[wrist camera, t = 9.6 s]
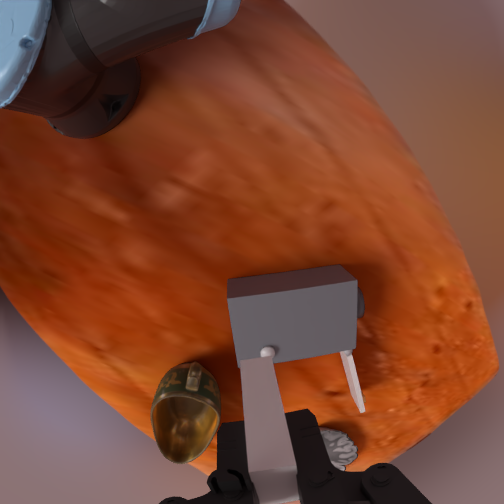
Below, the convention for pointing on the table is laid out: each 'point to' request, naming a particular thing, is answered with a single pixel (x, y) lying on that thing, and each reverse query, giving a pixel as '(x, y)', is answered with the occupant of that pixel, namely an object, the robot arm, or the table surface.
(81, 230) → the table surface
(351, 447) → the brain slice
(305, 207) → the table surface
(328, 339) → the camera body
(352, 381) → the door
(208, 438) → the cup
